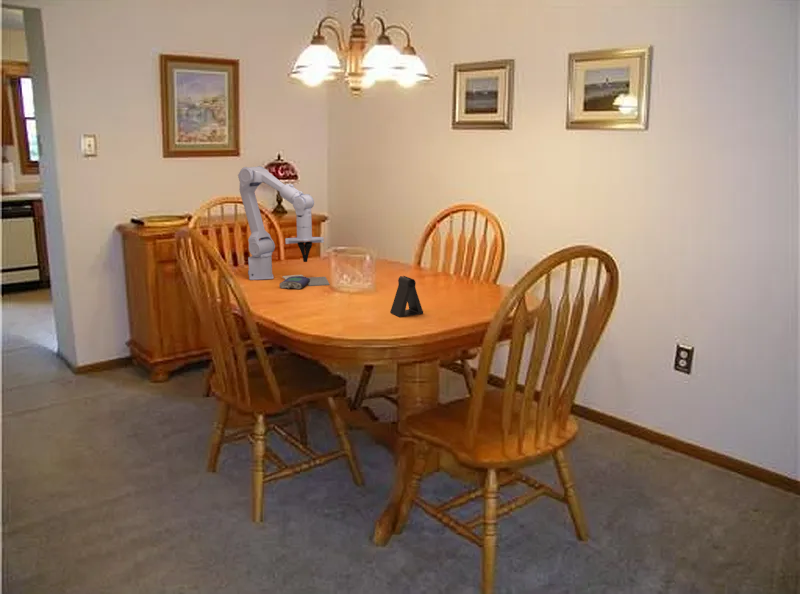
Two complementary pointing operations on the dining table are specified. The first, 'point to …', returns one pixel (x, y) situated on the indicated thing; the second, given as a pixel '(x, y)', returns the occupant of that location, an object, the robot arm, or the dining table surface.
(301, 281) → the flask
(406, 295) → the phone stand
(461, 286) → the dining table surface
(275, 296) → the dining table surface
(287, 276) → the napkin
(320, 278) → the board
